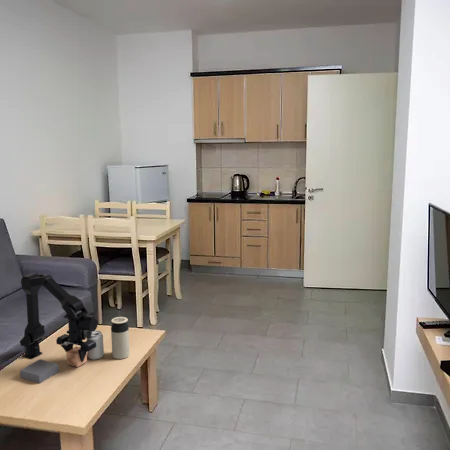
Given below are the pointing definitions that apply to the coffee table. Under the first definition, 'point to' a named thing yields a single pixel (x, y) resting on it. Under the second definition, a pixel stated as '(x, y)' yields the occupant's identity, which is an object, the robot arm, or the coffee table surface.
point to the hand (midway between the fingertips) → (77, 360)
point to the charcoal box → (39, 371)
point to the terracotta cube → (75, 357)
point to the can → (99, 349)
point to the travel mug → (120, 338)
